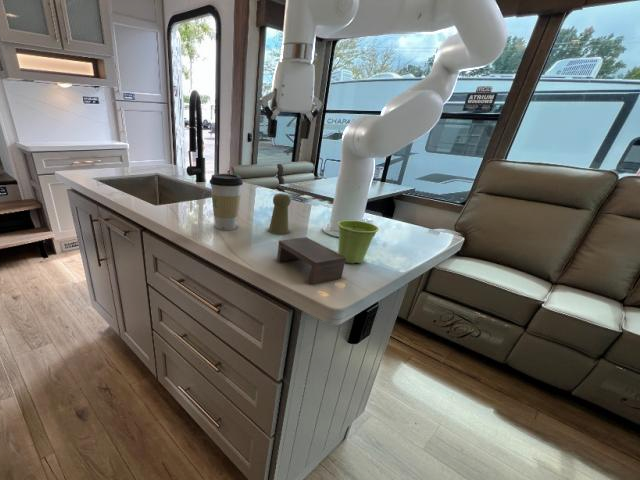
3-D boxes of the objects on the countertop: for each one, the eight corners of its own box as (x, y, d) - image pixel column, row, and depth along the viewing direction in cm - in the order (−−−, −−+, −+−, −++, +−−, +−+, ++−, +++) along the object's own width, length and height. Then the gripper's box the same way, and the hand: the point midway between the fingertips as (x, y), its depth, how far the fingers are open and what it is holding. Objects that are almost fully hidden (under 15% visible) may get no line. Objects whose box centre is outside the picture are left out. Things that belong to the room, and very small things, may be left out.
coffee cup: (222, 220, 105) (223, 172, 97) (247, 226, 100) (249, 176, 92) (203, 227, 98) (202, 175, 90) (228, 233, 93) (229, 180, 85)
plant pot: (336, 249, 85) (343, 217, 81) (372, 257, 81) (382, 224, 77) (326, 260, 78) (333, 226, 74) (365, 270, 74) (375, 234, 70)
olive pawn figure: (287, 234, 94) (292, 197, 89) (267, 232, 95) (270, 195, 90) (288, 229, 100) (293, 193, 94) (270, 227, 100) (273, 191, 95)
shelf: (303, 256, 80) (306, 237, 78) (341, 278, 69) (346, 257, 67) (276, 260, 77) (278, 240, 74) (312, 284, 66) (315, 262, 64)
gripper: (318, 62, 80) (308, 138, 89) (256, 54, 74) (252, 136, 83) (336, 58, 74) (323, 140, 83) (271, 49, 68) (265, 138, 77)
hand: (288, 138), depth 83 cm, fingers open, 9 cm apart
